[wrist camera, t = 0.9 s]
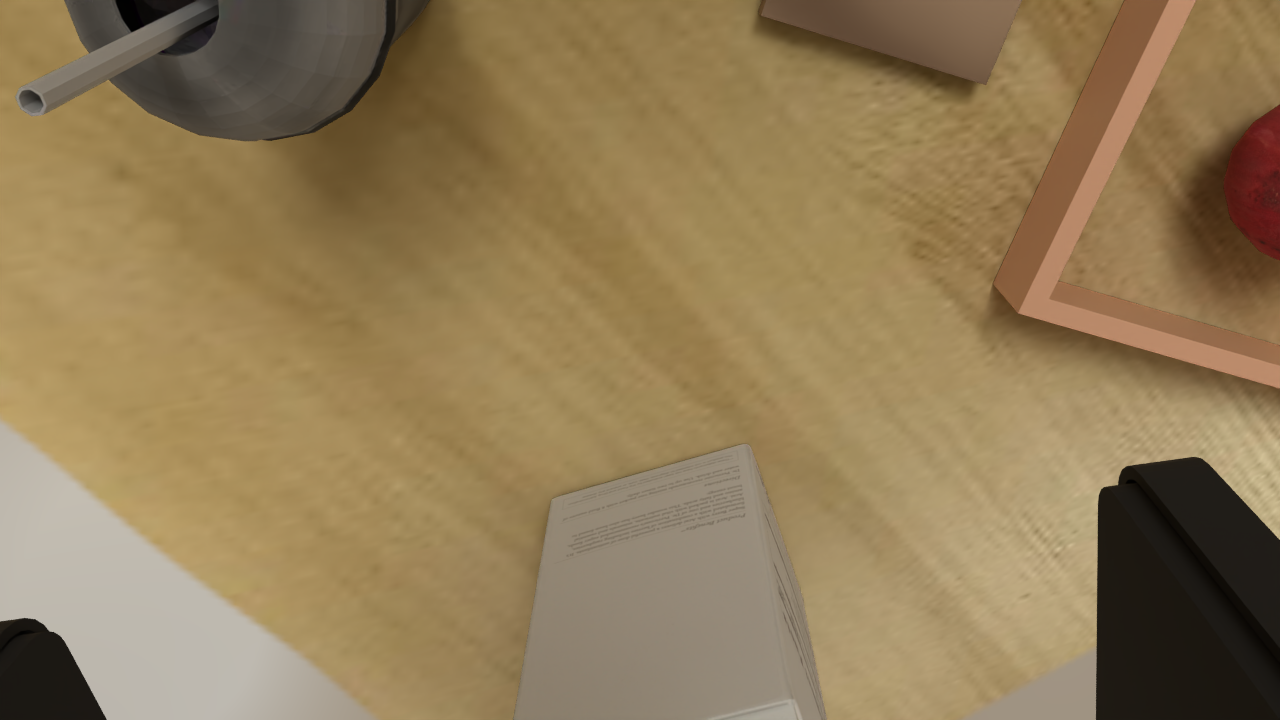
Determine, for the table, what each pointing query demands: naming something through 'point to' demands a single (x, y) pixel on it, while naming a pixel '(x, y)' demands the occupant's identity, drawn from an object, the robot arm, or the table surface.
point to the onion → (1257, 184)
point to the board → (910, 29)
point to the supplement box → (669, 603)
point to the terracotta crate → (1073, 191)
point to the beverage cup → (230, 60)
